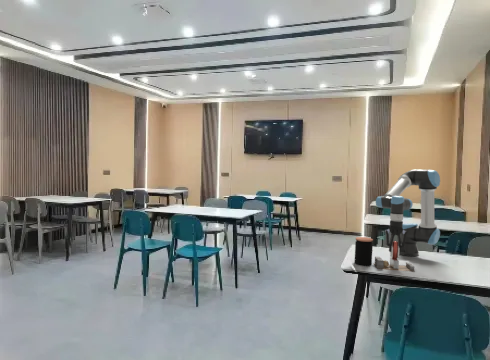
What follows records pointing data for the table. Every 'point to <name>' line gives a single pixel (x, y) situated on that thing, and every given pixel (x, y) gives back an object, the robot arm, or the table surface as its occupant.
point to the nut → (385, 263)
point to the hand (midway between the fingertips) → (394, 257)
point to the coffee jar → (363, 251)
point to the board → (401, 267)
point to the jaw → (394, 256)
